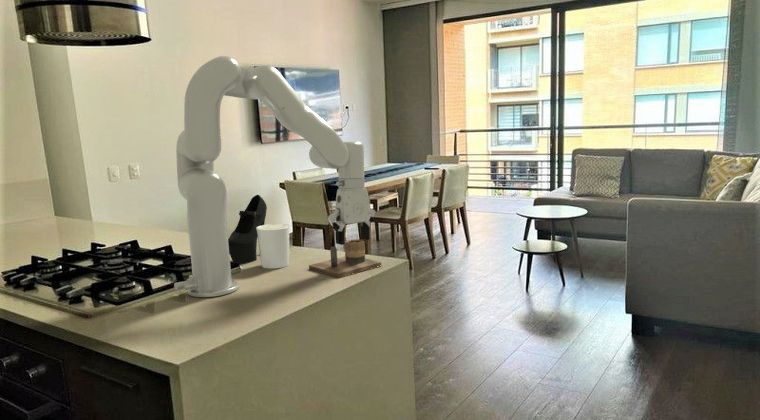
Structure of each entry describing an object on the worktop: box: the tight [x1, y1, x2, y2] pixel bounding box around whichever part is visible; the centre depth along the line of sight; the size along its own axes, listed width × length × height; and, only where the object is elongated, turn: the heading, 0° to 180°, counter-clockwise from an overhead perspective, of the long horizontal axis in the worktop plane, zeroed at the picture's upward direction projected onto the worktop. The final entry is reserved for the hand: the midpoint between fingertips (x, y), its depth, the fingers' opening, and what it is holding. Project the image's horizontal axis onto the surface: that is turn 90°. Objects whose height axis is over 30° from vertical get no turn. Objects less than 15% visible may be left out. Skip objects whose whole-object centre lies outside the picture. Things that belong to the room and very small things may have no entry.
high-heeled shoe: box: [228, 194, 268, 264], centre depth 174 cm, size 8×19×20 cm, turn 158°
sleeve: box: [344, 238, 366, 264], centre depth 163 cm, size 6×6×6 cm
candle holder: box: [256, 223, 290, 270], centre depth 166 cm, size 10×10×12 cm
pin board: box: [308, 242, 382, 278], centre depth 160 cm, size 16×14×7 cm
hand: (352, 241), depth 162 cm, fingers open, 9 cm apart
